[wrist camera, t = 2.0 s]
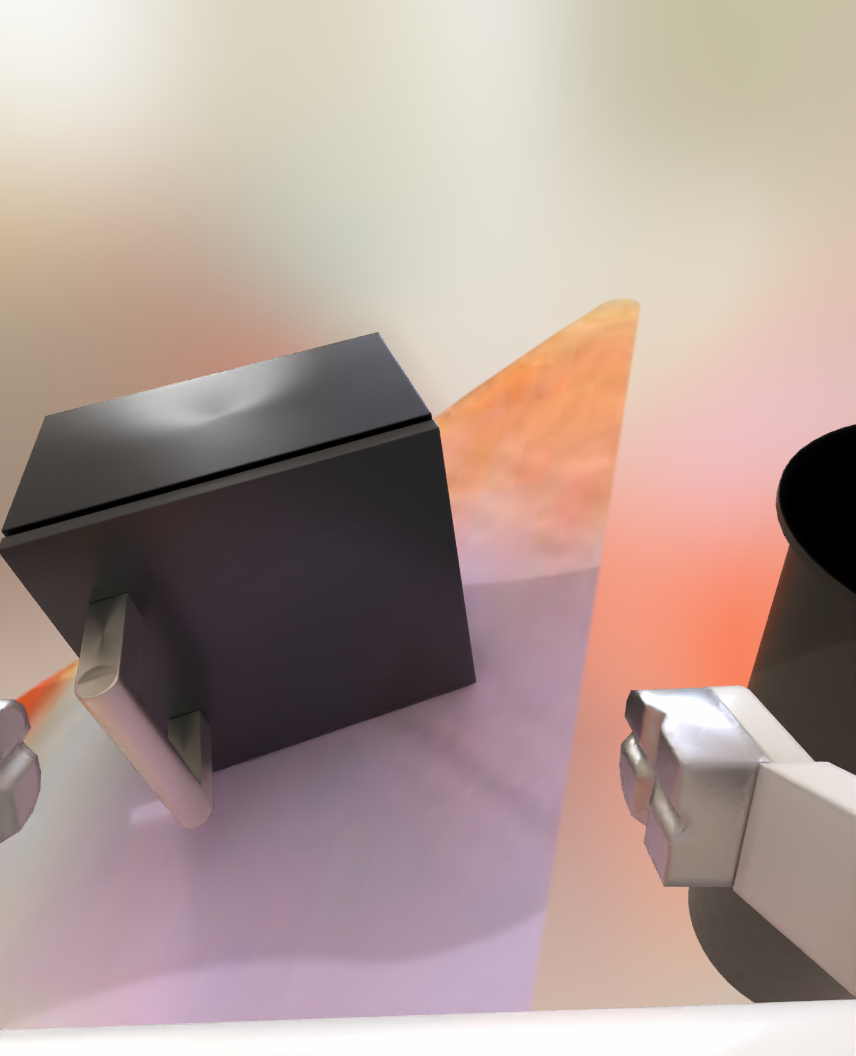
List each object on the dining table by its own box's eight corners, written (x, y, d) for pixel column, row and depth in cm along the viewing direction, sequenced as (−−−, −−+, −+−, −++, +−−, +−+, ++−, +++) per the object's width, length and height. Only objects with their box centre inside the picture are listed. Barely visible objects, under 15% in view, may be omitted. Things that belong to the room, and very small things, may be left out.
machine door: (511, 759, 33) (484, 496, 22) (172, 881, 31) (-43, 653, 20) (471, 672, 38) (433, 418, 27) (174, 771, 36) (1, 537, 25)
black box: (470, 670, 38) (431, 413, 27) (176, 769, 36) (0, 531, 25) (423, 566, 46) (378, 331, 35) (178, 642, 43) (44, 415, 32)
